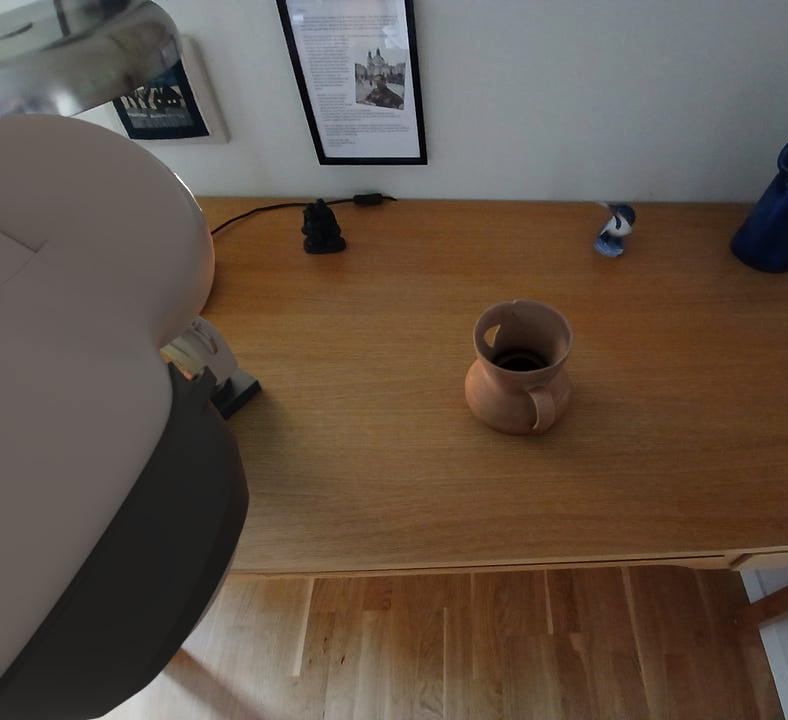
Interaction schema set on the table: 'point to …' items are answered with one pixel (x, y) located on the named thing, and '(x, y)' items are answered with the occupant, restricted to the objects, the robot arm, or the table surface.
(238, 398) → the red push button box
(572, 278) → the table surface
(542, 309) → the ceramic jug
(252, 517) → the table surface
